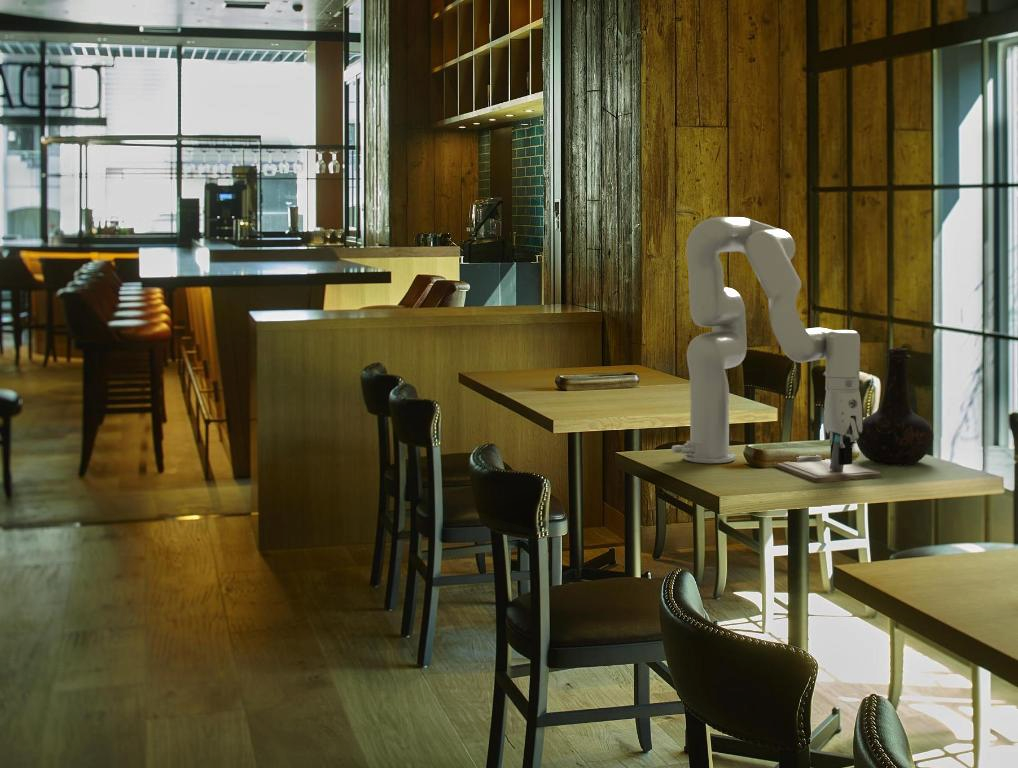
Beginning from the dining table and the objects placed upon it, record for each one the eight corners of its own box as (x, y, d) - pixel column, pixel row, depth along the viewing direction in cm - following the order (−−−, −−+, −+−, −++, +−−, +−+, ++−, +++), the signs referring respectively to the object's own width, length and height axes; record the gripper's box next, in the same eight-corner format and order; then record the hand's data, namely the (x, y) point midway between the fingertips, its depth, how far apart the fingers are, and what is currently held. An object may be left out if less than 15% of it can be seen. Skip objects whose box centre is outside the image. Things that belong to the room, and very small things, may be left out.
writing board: (815, 482, 284) (815, 472, 284) (774, 466, 303) (774, 457, 303) (882, 477, 289) (882, 467, 288) (837, 462, 308) (837, 453, 308)
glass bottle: (844, 465, 304) (846, 349, 301) (870, 453, 319) (873, 343, 315) (918, 472, 294) (921, 353, 291) (942, 460, 308) (945, 346, 305)
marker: (834, 470, 289) (839, 436, 288) (827, 468, 292) (832, 434, 291) (845, 471, 290) (851, 437, 289) (838, 469, 293) (843, 435, 292)
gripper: (876, 387, 282) (874, 468, 284) (838, 379, 298) (837, 456, 300) (845, 389, 280) (844, 470, 282) (810, 381, 296) (809, 458, 298)
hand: (841, 462), depth 291 cm, fingers closed on marker, 3 cm apart
